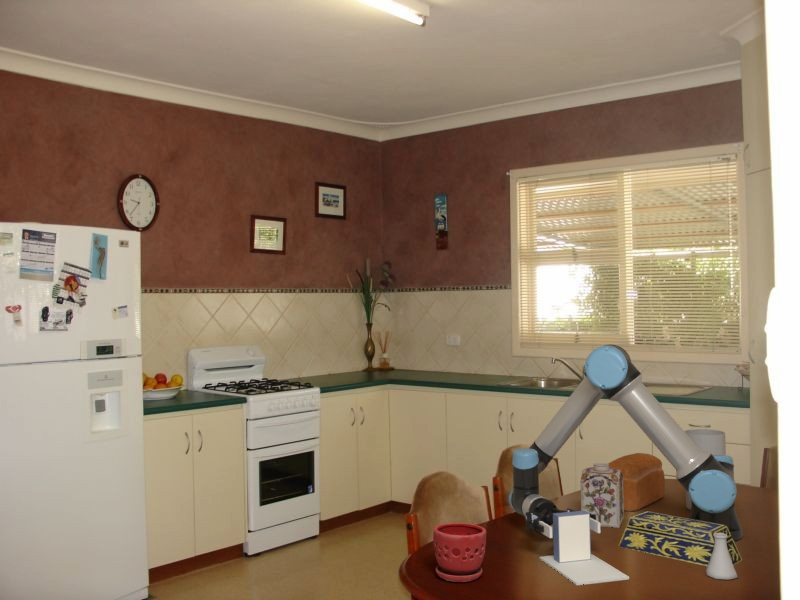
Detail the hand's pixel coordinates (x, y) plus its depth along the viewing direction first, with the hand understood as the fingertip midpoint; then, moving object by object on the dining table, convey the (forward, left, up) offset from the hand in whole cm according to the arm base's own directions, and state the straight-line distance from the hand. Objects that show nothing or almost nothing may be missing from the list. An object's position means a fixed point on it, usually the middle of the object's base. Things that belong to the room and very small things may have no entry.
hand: (575, 530), depth 201 cm
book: (+1, -2, -8) cm, 8 cm away
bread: (-15, -71, -9) cm, 73 cm away
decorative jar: (-6, -43, -9) cm, 44 cm away
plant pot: (+27, +15, -9) cm, 32 cm away
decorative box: (-26, -15, -9) cm, 32 cm away
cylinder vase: (-38, -65, -9) cm, 76 cm away
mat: (-2, +3, -9) cm, 9 cm away
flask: (-35, +1, -9) cm, 36 cm away
